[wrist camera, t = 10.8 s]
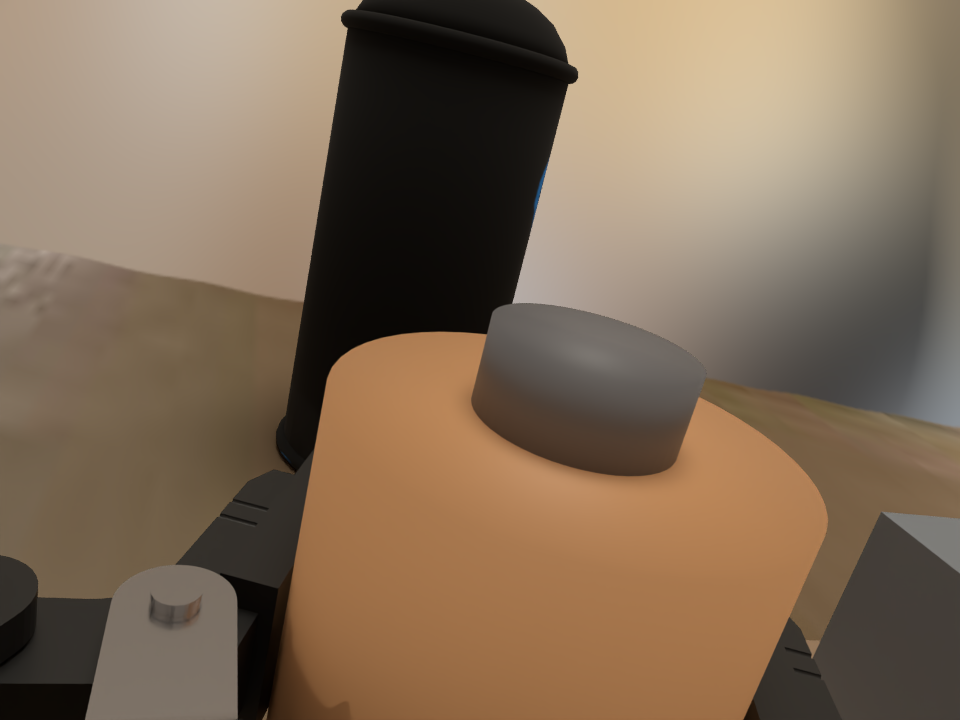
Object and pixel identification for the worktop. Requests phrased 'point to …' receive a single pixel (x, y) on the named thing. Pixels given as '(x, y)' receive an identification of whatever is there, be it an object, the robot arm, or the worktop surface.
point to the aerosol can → (425, 180)
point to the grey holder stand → (898, 625)
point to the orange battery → (538, 533)
